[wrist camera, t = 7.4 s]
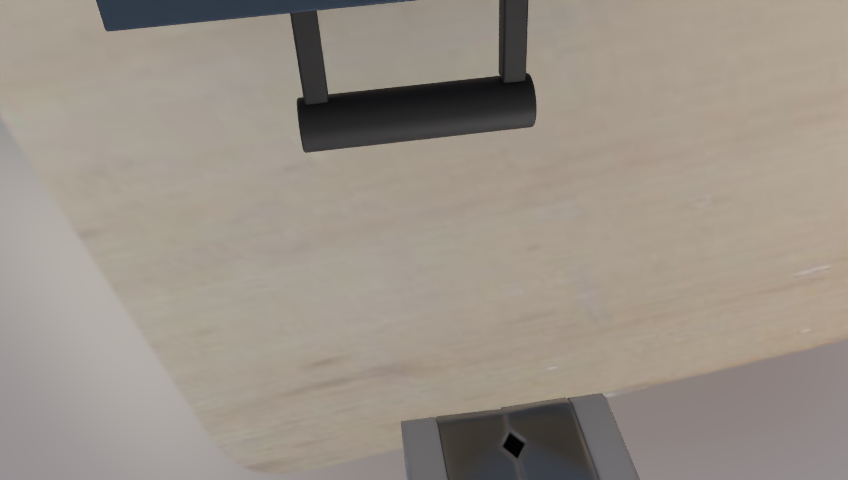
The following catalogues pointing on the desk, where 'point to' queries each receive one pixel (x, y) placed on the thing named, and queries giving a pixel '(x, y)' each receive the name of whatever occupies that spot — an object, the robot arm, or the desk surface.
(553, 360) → the desk surface
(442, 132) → the drawer
